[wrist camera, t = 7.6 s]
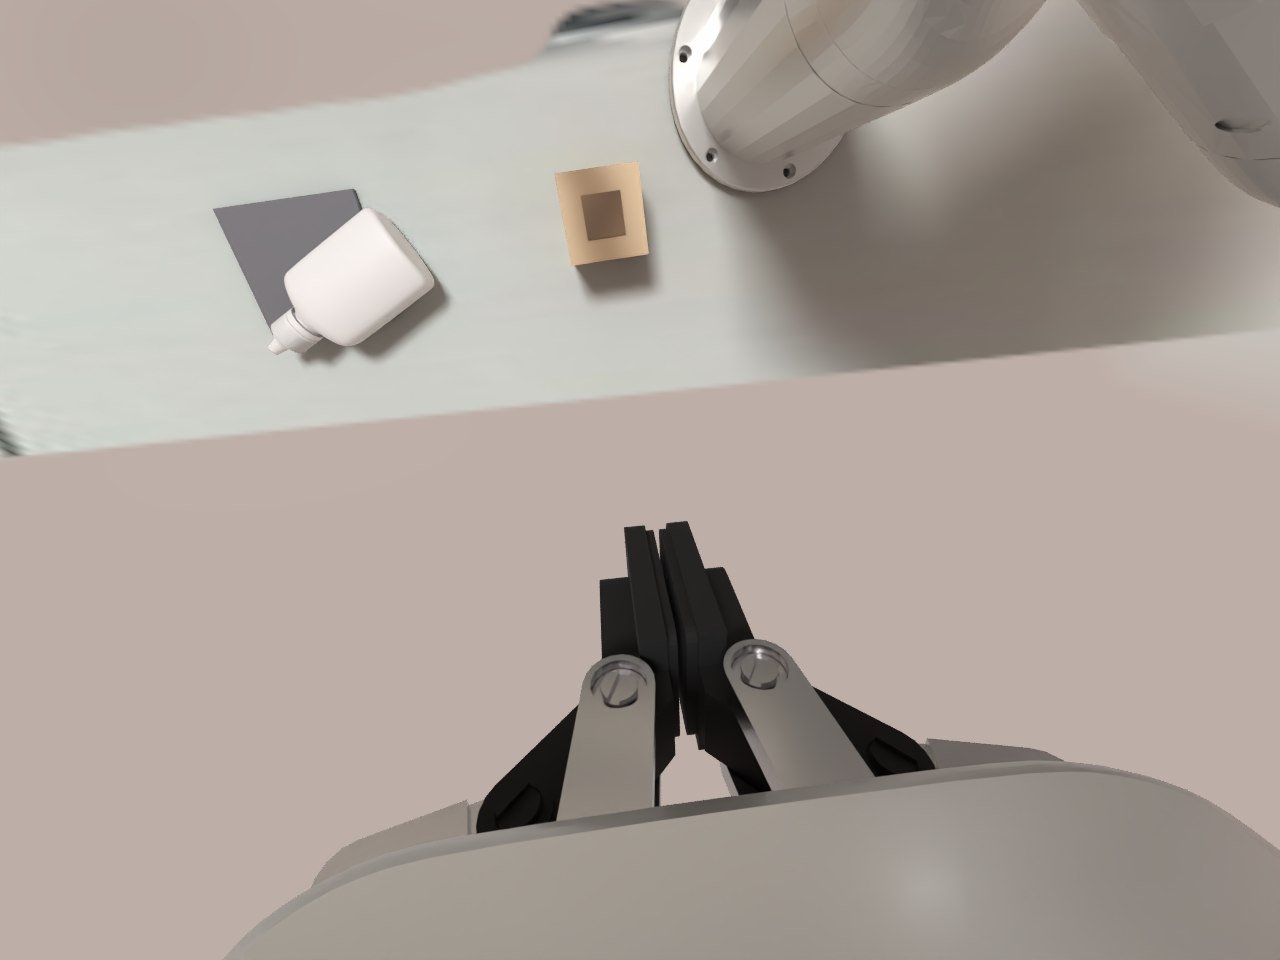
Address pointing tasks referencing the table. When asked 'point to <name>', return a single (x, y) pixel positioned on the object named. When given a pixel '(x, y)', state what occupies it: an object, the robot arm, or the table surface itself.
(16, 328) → the table surface
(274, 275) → the mat
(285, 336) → the eye dropper bottle
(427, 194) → the table surface
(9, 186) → the table surface
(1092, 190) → the table surface
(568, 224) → the oak cube
